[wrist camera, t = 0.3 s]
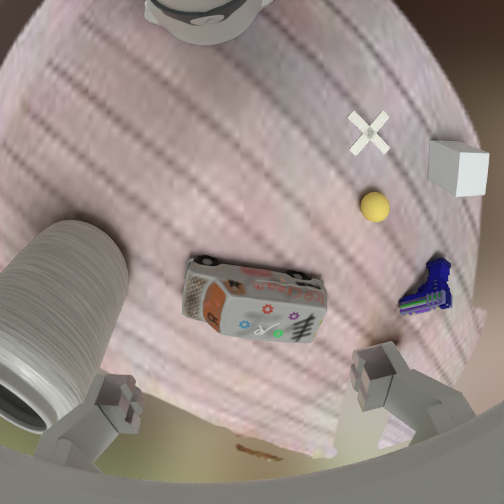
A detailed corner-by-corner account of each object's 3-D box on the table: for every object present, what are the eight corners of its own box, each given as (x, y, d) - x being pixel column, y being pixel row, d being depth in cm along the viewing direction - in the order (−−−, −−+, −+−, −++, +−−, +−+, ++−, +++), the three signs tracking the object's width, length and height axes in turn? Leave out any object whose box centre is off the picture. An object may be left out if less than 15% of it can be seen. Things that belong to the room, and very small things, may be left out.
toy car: (189, 250, 52) (181, 285, 43) (322, 272, 56) (337, 306, 47) (183, 298, 57) (176, 334, 49) (305, 314, 61) (315, 350, 52)
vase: (107, 192, 45) (-15, 337, 16) (154, 288, 55) (109, 453, 27) (30, 228, 47) (-73, 347, 18) (77, 307, 57) (18, 438, 28)
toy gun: (453, 263, 53) (453, 308, 49) (408, 279, 65) (405, 319, 61) (443, 256, 52) (444, 303, 48) (397, 273, 64) (394, 314, 60)
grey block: (429, 140, 43) (460, 152, 36) (458, 141, 43) (489, 153, 36) (427, 179, 47) (455, 197, 39) (456, 178, 47) (484, 194, 39)
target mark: (332, 134, 43) (332, 134, 43) (367, 94, 40) (367, 94, 39) (369, 170, 46) (370, 170, 46) (402, 132, 43) (403, 132, 43)
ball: (356, 189, 48) (367, 199, 43) (382, 186, 48) (395, 197, 43) (356, 216, 50) (366, 229, 46) (381, 213, 50) (393, 225, 46)
